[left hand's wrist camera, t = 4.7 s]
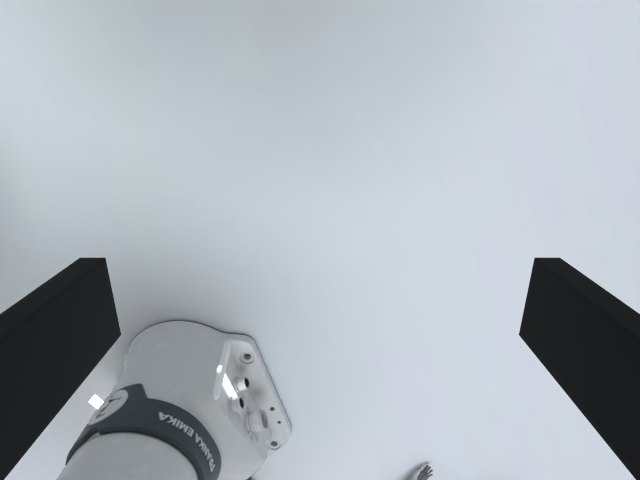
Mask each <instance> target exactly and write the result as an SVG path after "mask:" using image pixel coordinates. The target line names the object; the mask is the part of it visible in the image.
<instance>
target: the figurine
mask: <svg viewBox="0 0 640 480" xmlns="http://www.w3.org/2000/svg"><path fill="white" fill-rule="evenodd" d="M427 467H428V465H427V466H426V467H425V468H424V469H423V470H422V471H421V472H420V474H419V475H418V478H417V480H427V479H428V478H429V477H430V476H432V475H433V474H430V473H431V472H432V471H433V470H430V471H429V472H428V473H427V471H428V470H429V469H430V468H431V467H428V468H427ZM428 474H430V475H428ZM427 475H428V476H427Z"/></svg>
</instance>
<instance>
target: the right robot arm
mask: <svg viewBox="0 0 640 480" xmlns="http://www.w3.org/2000/svg"><path fill="white" fill-rule="evenodd" d="M245 354H250V355H251V356H247V355H245ZM89 403H91V404H92V405H93V406H94V407H96V408H97V410H96V412H95V413H94V414H93V416H92V417H91V419H90V420H89V422H88V424H87V426H86V427H85V428H84V430H83V431H82V433H81V435H80V436H79V438H78V439H77V441H76V442H75V444H74V446H73V447H72V449H71V450H70V452H69V454H68V457H67V460H66V466H65V468H64V469H63V471H62V472H61V474H60V475H59V477H58V478H57V480H251V476H252V475H254V474H255V473H256V472H257V471H258V470H259V469H260V468H261V467H262V465H263V464H264V462H265V460H266V458H267V457H268V456H270V455H271V454H273V453H274V452H276V451H277V450H278V449H280V448H281V447H282V446H283V445H284V444H285V443H286V442H287V440H288V439H289V437H290V436H291V432H292V426H291V424H290V421H289V419H288V416H287V414H286V412H285V410H284V407H283V405H282V403H281V400H280V398H279V396H278V393H277V391H276V389H275V387H274V384H273V382H272V380H271V377H270V375H269V373H268V370H267V368H266V366H265V364H264V361H263V359H262V357H261V354H260V352H259V350H258V347H257V345H256V343H255V341H254V340H253V339H252V338H251V337H249V336H246V335H240V334H226V333H222V332H220V331H217V330H215V329H213V328H210V327H208V326H205V325H202V324H199V323H194V322H188V321H169V322H163V323H159V324H156V325H153V326H151V327H149V328H147V329H145V330H144V331H142V332H141V333H140V334H138V335H137V336H136V337H135V338H134V339H133V341H132V342H131V343H130V345H129V347H128V349H127V351H126V354H125V358H124V363H123V366H122V370H121V372H120V375H119V377H118V380H117V382H116V384H115V386H114V388H113V390H112V392H111V394H110V396H109V397H108V398H107V399H106V400H105V401H102V400H101V399H100V398H99V397H97V396H96V395H94V396H93V397H92V398H91V400H90V401H89ZM274 441H275V442H274Z"/></svg>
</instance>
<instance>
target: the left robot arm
mask: <svg viewBox="0 0 640 480" xmlns="http://www.w3.org/2000/svg"><path fill="white" fill-rule="evenodd" d="M120 335H121V332H120V327H119V323H118V318H117V313H116V308H115V303H114V298H113V293H112V288H111V283H110V278H109V274H108V269H107V264H106V259H105V258H79V259H78V260H76V261H75V262H74V263H72V264H71V265H69V266H68V267H67V268H65V269H64V270H62V271H61V272H59V273H58V274H57V275H55V276H54V277H52V278H51V279H49V280H48V281H47V282H45V283H44V284H42V285H41V286H40V287H38V288H37V289H35V290H34V291H32V292H31V293H30V294H28V295H27V296H25V297H24V298H23V299H21V300H20V301H18V302H17V303H15V304H14V305H13V306H11V307H10V308H8V309H7V310H6V311H4V312H3V313H1V314H0V480H4V479H5V478H6V476H7V475H8V474H9V473H10V471H11V470H12V469H13V468H14V466H15V465H16V464H17V463H18V462H19V460H20V459H21V458H22V457H23V455H24V454H25V453H26V452H27V450H28V449H29V448H30V447H31V445H32V444H33V443H34V442H35V441H36V439H37V438H38V437H39V436H40V434H41V433H42V432H43V431H44V429H45V428H46V427H47V426H48V424H49V423H50V422H51V421H52V419H53V418H54V417H55V416H56V415H57V413H58V412H59V411H60V410H61V408H62V407H63V406H64V405H65V403H66V402H67V401H68V400H69V398H70V397H71V396H72V395H73V394H74V392H75V391H76V390H77V389H78V387H79V386H80V385H81V384H82V382H83V381H84V380H85V379H86V377H87V376H88V375H89V374H90V372H91V371H92V370H93V369H94V368H95V366H96V365H97V364H98V363H99V361H100V360H101V359H102V358H103V356H104V355H105V354H106V353H107V351H108V350H109V349H110V348H111V347H112V345H113V344H114V343H115V342H116V340H117V339H118V338H119V337H120ZM519 335H520V337H521V338H522V339H523V340H524V342H525V343H526V344H527V345H528V347H529V348H530V349H531V350H532V351H533V353H534V354H535V355H536V356H537V358H538V359H539V360H540V361H541V363H542V364H543V365H544V366H545V368H546V369H547V370H548V371H549V372H550V374H551V375H552V376H553V377H554V379H555V380H556V381H557V382H558V384H559V385H560V386H561V387H562V389H563V390H564V391H565V392H566V394H567V395H568V396H569V397H570V398H571V400H572V401H573V402H574V403H575V405H576V406H577V407H578V408H579V410H580V411H581V412H582V413H583V415H584V416H585V417H586V418H587V419H588V421H589V422H590V423H591V424H592V426H593V427H594V428H595V429H596V431H597V432H598V433H599V434H600V436H601V437H602V438H603V439H604V441H605V442H606V443H607V444H608V445H609V447H610V448H611V449H612V450H613V452H614V453H615V454H616V455H617V457H618V458H619V459H620V460H621V462H622V463H623V464H624V465H625V466H626V468H627V469H628V470H629V471H630V473H631V474H632V475H633V476H634V478H635V479H636V480H640V314H639V313H637V312H636V311H634V310H633V309H632V308H630V307H629V306H627V305H626V304H625V303H623V302H622V301H620V300H619V299H617V298H616V297H615V296H613V295H612V294H610V293H609V292H608V291H606V290H605V289H603V288H602V287H600V286H599V285H598V284H596V283H595V282H593V281H592V280H591V279H589V278H588V277H586V276H585V275H583V274H582V273H581V272H579V271H578V270H576V269H575V268H573V267H572V266H571V265H569V264H568V263H566V262H565V261H564V260H562V259H561V258H535V259H534V264H533V269H532V274H531V278H530V283H529V288H528V293H527V298H526V303H525V308H524V313H523V318H522V323H521V327H520V332H519Z"/></svg>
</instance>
